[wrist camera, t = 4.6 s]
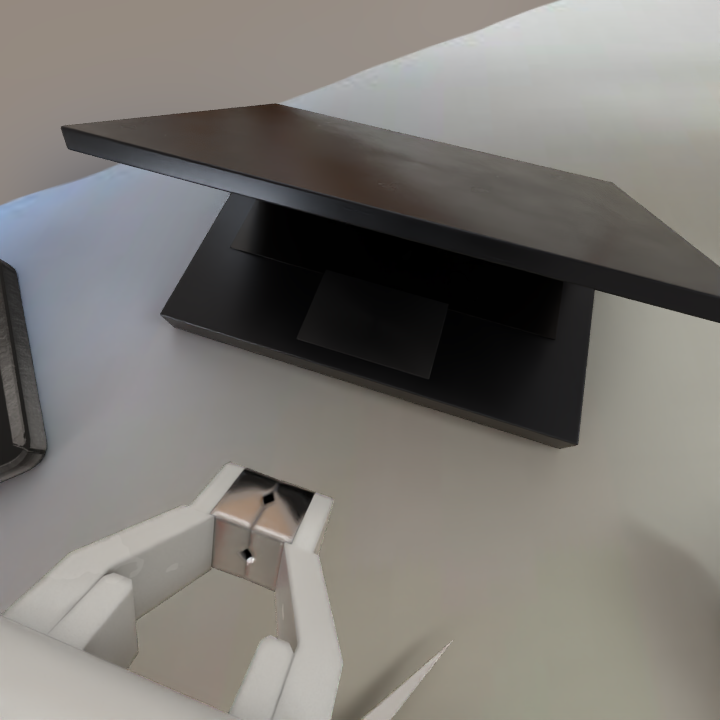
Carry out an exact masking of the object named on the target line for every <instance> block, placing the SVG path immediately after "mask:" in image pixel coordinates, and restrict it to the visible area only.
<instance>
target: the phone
mask: <svg viewBox="0 0 720 720" xmlns="http://www.w3.org/2000/svg"><path fill="white" fill-rule="evenodd" d="M46 449H47V442H46V436H45V430H44V425H43V419H42V414H41V408H40V402H39V397H38V391H37V385H36V380H35V374H34V369H33V363H32V357H31V352H30V346H29V341H28V335H27V329H26V324H25V318H24V312H23V307H22V301H21V296H20V290H19V284H18V279H17V273H16V271H15V269H14V268H13V267H12V266H10V265H9V264H7V263H6V262H4V261H3V260H1V259H0V483H1V482H3V481H5V480H8V479H10V478H12V477H15V476H17V475H19V474H21V473H24V472H26V471H28V470H30V469H32V468H33V467H35V466H36V465H37V464H38V463H39V462H40V461H41V460H42V458H43V456H44V455H45V452H46Z"/></svg>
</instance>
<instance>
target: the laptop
mask: <svg viewBox="0 0 720 720" xmlns="http://www.w3.org/2000/svg"><path fill="white" fill-rule="evenodd" d="M594 291H595V290H594V289H590V288H586V287H583V286H579V285H575V284H571V283H568V282H564V281H560V280H556V279H553V278H549V277H545V276H541V275H538V274H534V273H530V272H526V271H523V270H519V269H515V268H511V267H508V266H504V265H500V264H496V263H493V262H489V261H485V260H481V259H478V258H474V257H470V256H466V255H463V254H459V253H455V252H451V251H448V250H444V249H440V248H436V247H433V246H429V245H425V244H421V243H418V242H414V241H410V240H406V239H403V238H399V237H395V236H391V235H388V234H384V233H380V232H376V231H373V230H369V229H365V228H361V227H358V226H354V225H350V224H346V223H343V222H339V221H335V220H332V219H328V218H324V217H320V216H317V215H313V214H309V213H305V212H302V211H298V210H294V209H290V208H287V207H283V206H279V205H275V204H272V203H268V202H264V201H260V200H257V199H253V198H249V197H245V196H242V195H238V194H234V193H231V194H230V196H229V198H228V199H227V201H226V203H225V205H224V206H223V208H222V210H221V211H220V213H219V215H218V216H217V218H216V220H215V222H214V223H213V225H212V227H211V228H210V230H209V232H208V233H207V235H206V237H205V239H204V240H203V242H202V244H201V245H200V247H199V249H198V250H197V252H196V254H195V256H194V257H193V259H192V261H191V262H190V264H189V266H188V267H187V269H186V271H185V273H184V274H183V276H182V278H181V279H180V281H179V283H178V284H177V286H176V288H175V290H174V291H173V293H172V295H171V296H170V298H169V300H168V301H167V303H166V305H165V307H164V308H163V310H162V312H161V313H160V315H161V316H162V317H163V318H165V319H166V320H167V321H168V322H169V323H170V324H171V325H172V326H173V327H175V328H179V329H182V330H185V331H188V332H191V333H194V334H198V335H201V336H204V337H207V338H210V339H213V340H217V341H220V342H223V343H226V344H229V345H232V346H236V347H239V348H242V349H245V350H248V351H251V352H255V353H258V354H261V355H264V356H267V357H271V358H274V359H277V360H280V361H283V362H286V363H290V364H293V365H296V366H299V367H302V368H305V369H309V370H312V371H315V372H318V373H321V374H324V375H328V376H331V377H334V378H337V379H340V380H343V381H347V382H350V383H353V384H356V385H359V386H363V387H366V388H369V389H372V390H375V391H378V392H382V393H385V394H388V395H391V396H394V397H397V398H401V399H404V400H407V401H410V402H413V403H416V404H420V405H423V406H426V407H429V408H432V409H436V410H439V411H442V412H445V413H448V414H451V415H455V416H458V417H461V418H464V419H467V420H470V421H474V422H477V423H480V424H483V425H486V426H489V427H493V428H496V429H499V430H502V431H505V432H508V433H512V434H515V435H518V436H521V437H524V438H528V439H531V440H534V441H537V442H540V443H543V444H547V445H550V446H553V447H556V448H559V449H561V448H566V447H571V446H576V445H578V441H579V431H580V422H581V412H582V403H583V394H584V384H585V375H586V366H587V356H588V347H589V338H590V328H591V319H592V309H593V300H594Z"/></svg>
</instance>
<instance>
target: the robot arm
mask: <svg viewBox="0 0 720 720" xmlns="http://www.w3.org/2000/svg"><path fill="white" fill-rule="evenodd" d="M333 503H334V498H332V497H329V496H326V495H323V494H320V493H317V492H315V491H312V490H309V489H306V488H303V487H300V486H297V485H294V484H291V483H288V482H285V481H282V480H281V481H280V480H278V479H275V478H273V477H270V476H267V475H265V474H262V473H259V472H257V471H254V470H252V469H249V468H246V467H243V466H240V465H238V464H235V463H232V462H229V463H227V464H225V465H224V466H223V467H222V468H221V469H220V471H219V472H218V473H217V474H216V475H215V476H214V478H213V479H212V480H211V481H210V482H209V483H208V484H207V486H206V487H205V488H204V489H203V490H202V491H201V493H200V494H199V495H198V496H197V497H196V498H195V499H194V501H193V502H192V503H191V504H190V505H189V506H186V505H181V506H179V507H176V508H174V509H171V510H169V511H167V512H164V513H162V514H160V515H157V516H155V517H152V518H150V519H148V520H145V521H143V522H141V523H138V524H136V525H133V526H131V527H129V528H126V529H124V530H121V531H119V532H117V533H114V534H112V535H110V536H107V537H105V538H102V539H100V540H98V541H95V542H93V543H90V544H88V545H86V546H83V547H81V548H79V549H76V550H74V551H71V552H70V553H68V554H67V555H66V556H65V557H64V558H63V559H62V560H61V561H60V562H59V563H57V564H56V565H55V566H54V567H53V568H52V569H51V570H50V571H49V572H48V573H46V574H45V575H44V576H43V577H42V578H41V579H40V580H39V581H38V582H37V583H35V584H34V585H33V586H32V587H31V588H30V589H29V590H28V591H27V592H26V593H24V594H23V595H22V596H21V597H20V598H19V599H18V600H17V601H16V602H15V603H13V604H12V605H11V606H10V607H9V608H8V609H7V610H6V611H5V612H4V613H2V614H1V615H0V720H331V717H332V712H333V708H334V703H335V699H336V694H337V690H338V685H339V681H340V676H341V672H342V667H343V659H342V654H341V650H340V645H339V641H338V636H337V632H336V628H335V623H334V619H333V614H332V610H331V606H330V601H329V597H328V592H327V588H326V583H325V579H324V575H323V570H322V566H321V561H320V557H319V555H318V554H319V551H320V548H321V545H322V542H323V538H324V535H325V532H326V529H327V525H328V521H329V518H330V514H331V510H332V507H333ZM211 567H212V568H215V569H218V570H221V571H223V572H226V573H229V574H232V575H235V576H238V577H241V578H243V579H246V580H248V581H251V582H253V583H255V584H258V585H260V586H262V587H265V588H267V589H269V590H272V591H274V592H275V609H276V623H277V638H276V637H273V636H271V635H269V636H267V637H265V638H263V639H261V640H260V643H259V645H258V647H257V649H256V652H255V654H254V656H253V658H252V661H251V663H250V665H249V667H248V670H247V672H246V674H245V676H244V679H243V681H242V683H241V685H240V688H239V690H238V692H237V695H236V697H235V699H234V701H233V704H232V706H231V708H230V710H229V713H226V712H224V711H222V710H219V709H217V708H215V707H212V706H210V705H208V704H206V703H203V702H201V701H199V700H196V699H194V698H192V697H189V696H187V695H185V694H182V693H180V692H178V691H176V690H173V689H171V688H169V687H166V686H164V685H162V684H159V683H157V682H155V681H152V680H150V679H148V678H145V677H143V676H141V675H139V674H136V673H134V672H132V671H129V670H127V669H128V667H129V666H130V665H131V663H132V662H133V660H134V659H135V657H136V656H137V654H138V640H137V629H136V620H138V619H139V618H141V617H142V616H144V615H145V614H147V613H148V612H149V611H151V610H152V609H154V608H155V607H157V606H158V605H160V604H161V603H163V602H164V601H166V600H167V599H169V598H170V597H171V596H173V595H174V594H176V593H177V592H179V591H180V590H182V589H183V588H185V587H186V586H188V585H189V584H191V583H192V582H194V581H195V580H196V579H198V578H199V577H201V576H202V575H204V574H205V573H207V572H208V571H210V570H211Z"/></svg>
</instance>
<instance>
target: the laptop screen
mask: <svg viewBox="0 0 720 720" xmlns="http://www.w3.org/2000/svg"><path fill="white" fill-rule="evenodd" d="M61 130H62V133H63V136H64V139H65V142H66V145H67V148H68V149H70V150H73V151H77V152H81V153H84V154H88V155H92V156H95V157H99V158H103V159H107V160H111V161H114V162H118V163H122V164H125V165H129V166H133V167H137V168H140V169H144V170H148V171H152V172H155V173H159V174H163V175H167V176H170V177H174V178H178V179H182V180H185V181H189V182H193V183H197V184H200V185H204V186H208V187H212V188H215V189H219V190H223V191H227V192H230V193H234V194H238V195H242V196H245V197H249V198H253V199H257V200H260V201H264V202H268V203H272V204H275V205H279V206H283V207H287V208H290V209H294V210H298V211H302V212H305V213H309V214H313V215H317V216H320V217H324V218H328V219H332V220H335V221H339V222H343V223H346V224H350V225H354V226H358V227H361V228H365V229H369V230H373V231H376V232H380V233H384V234H388V235H391V236H395V237H399V238H403V239H406V240H410V241H414V242H418V243H421V244H425V245H429V246H433V247H436V248H440V249H444V250H448V251H451V252H455V253H459V254H463V255H466V256H470V257H474V258H478V259H481V260H485V261H489V262H493V263H496V264H500V265H504V266H508V267H511V268H515V269H519V270H523V271H526V272H530V273H534V274H538V275H541V276H545V277H549V278H553V279H556V280H560V281H564V282H568V283H571V284H575V285H579V286H583V287H586V288H590V289H594V290H598V291H601V292H605V293H609V294H613V295H616V296H620V297H624V298H628V299H631V300H635V301H639V302H643V303H646V304H650V305H654V306H658V307H661V308H665V309H669V310H673V311H676V312H680V313H684V314H688V315H691V316H695V317H699V318H703V319H706V320H710V321H714V322H718V323H720V267H719V266H718V265H717V264H716V263H714V262H713V261H712V260H710V259H709V258H708V257H707V256H705V255H704V254H703V253H701V252H700V251H699V250H698V249H696V248H695V247H694V246H693V245H691V244H690V243H689V242H687V241H686V240H685V239H684V238H682V237H681V236H680V235H679V234H677V233H676V232H675V231H673V230H672V229H671V228H670V227H668V226H667V225H666V224H664V223H663V222H662V221H661V220H659V219H658V218H657V217H656V216H654V215H653V214H652V213H650V212H649V211H648V210H647V209H645V208H644V207H643V206H641V205H640V204H639V203H638V202H636V201H635V200H634V199H633V198H631V197H630V196H629V195H627V194H626V193H625V192H624V191H622V190H621V189H620V188H618V187H617V186H616V185H615V184H613V183H612V182H607V181H603V180H599V179H595V178H590V177H586V176H582V175H578V174H573V173H569V172H565V171H561V170H556V169H552V168H548V167H544V166H539V165H535V164H531V163H527V162H522V161H518V160H514V159H510V158H505V157H501V156H497V155H493V154H488V153H484V152H480V151H476V150H471V149H467V148H463V147H459V146H454V145H450V144H446V143H442V142H437V141H433V140H429V139H425V138H420V137H416V136H412V135H408V134H403V133H399V132H395V131H391V130H386V129H382V128H378V127H374V126H369V125H365V124H361V123H357V122H352V121H348V120H344V119H340V118H335V117H331V116H327V115H323V114H318V113H314V112H310V111H306V110H301V109H297V108H293V107H289V106H284V105H280V104H266V105H257V106H247V107H237V108H228V109H218V110H209V111H199V112H189V113H181V114H171V115H161V116H151V117H142V118H132V119H123V120H113V121H103V122H94V123H84V124H75V125H65V126H61Z"/></svg>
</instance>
